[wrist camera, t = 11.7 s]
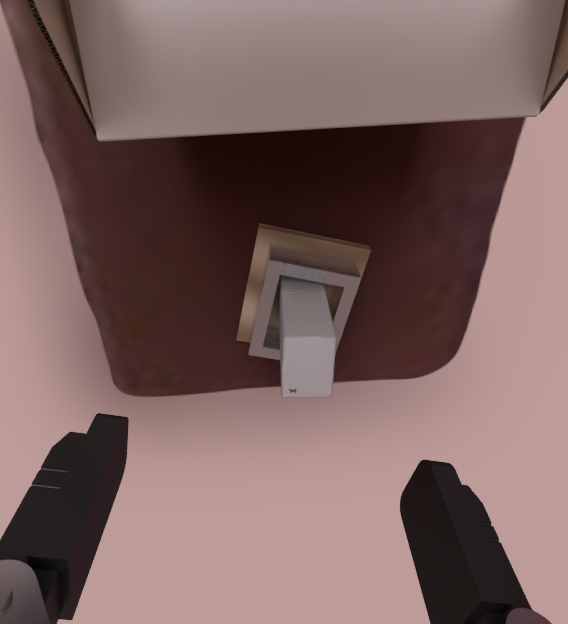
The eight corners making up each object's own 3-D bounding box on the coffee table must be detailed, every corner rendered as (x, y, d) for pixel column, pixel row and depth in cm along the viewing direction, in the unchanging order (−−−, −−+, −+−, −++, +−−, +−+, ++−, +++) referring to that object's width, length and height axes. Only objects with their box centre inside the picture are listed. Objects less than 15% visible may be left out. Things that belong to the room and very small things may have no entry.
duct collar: (269, 242, 41) (269, 259, 37) (354, 259, 42) (361, 277, 39) (250, 332, 46) (248, 354, 43) (325, 345, 47) (330, 368, 44)
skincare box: (319, 322, 46) (332, 399, 35) (278, 322, 45) (280, 399, 35) (322, 270, 42) (338, 338, 32) (279, 269, 42) (280, 338, 32)
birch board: (259, 223, 41) (258, 227, 40) (368, 245, 43) (371, 250, 42) (237, 334, 48) (236, 340, 47) (332, 350, 49) (334, 357, 48)
